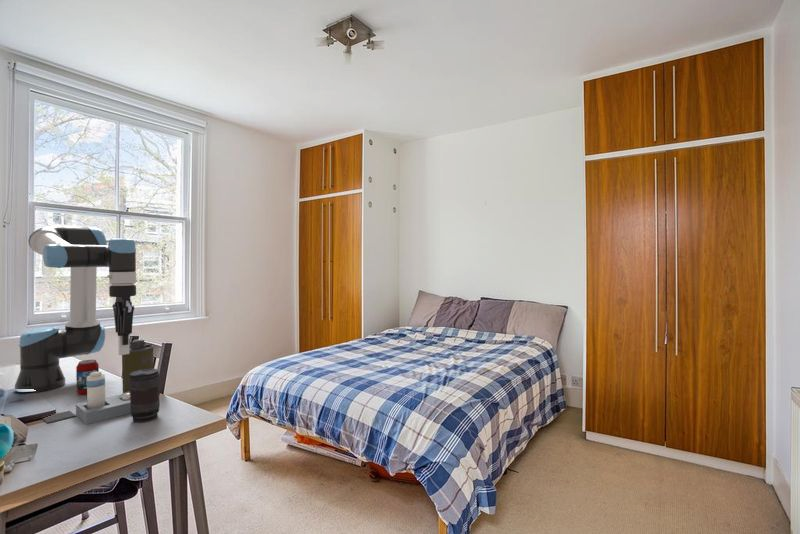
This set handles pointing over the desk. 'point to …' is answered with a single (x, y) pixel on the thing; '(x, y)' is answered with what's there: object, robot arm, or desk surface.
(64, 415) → the mat
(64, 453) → the desk surface
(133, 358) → the canister
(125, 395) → the plunger
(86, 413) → the block
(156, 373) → the camera lens
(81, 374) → the beverage can
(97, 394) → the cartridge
